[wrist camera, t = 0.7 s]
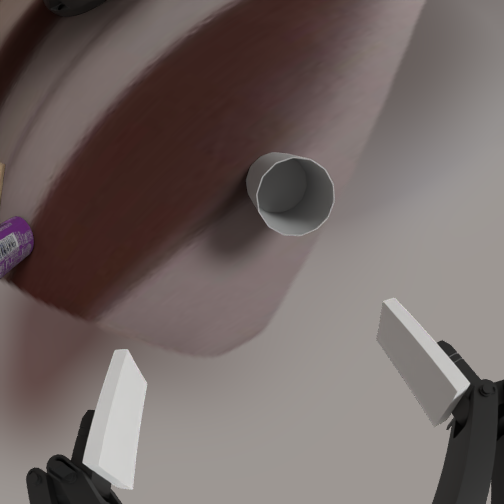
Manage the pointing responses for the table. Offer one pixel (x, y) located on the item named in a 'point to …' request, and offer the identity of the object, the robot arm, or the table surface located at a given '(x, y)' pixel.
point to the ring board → (1, 177)
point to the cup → (290, 193)
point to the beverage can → (14, 243)
